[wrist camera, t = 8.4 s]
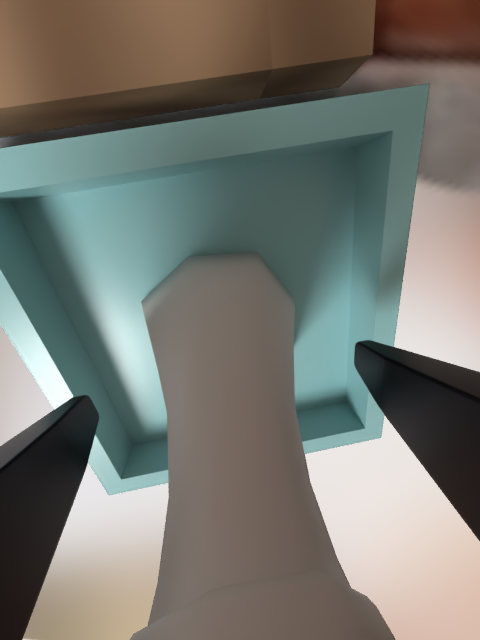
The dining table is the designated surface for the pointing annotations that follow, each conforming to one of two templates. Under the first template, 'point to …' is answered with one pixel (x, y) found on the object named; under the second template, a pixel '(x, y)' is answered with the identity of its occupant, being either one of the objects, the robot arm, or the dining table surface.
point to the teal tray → (209, 239)
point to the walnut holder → (168, 55)
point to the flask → (240, 468)
